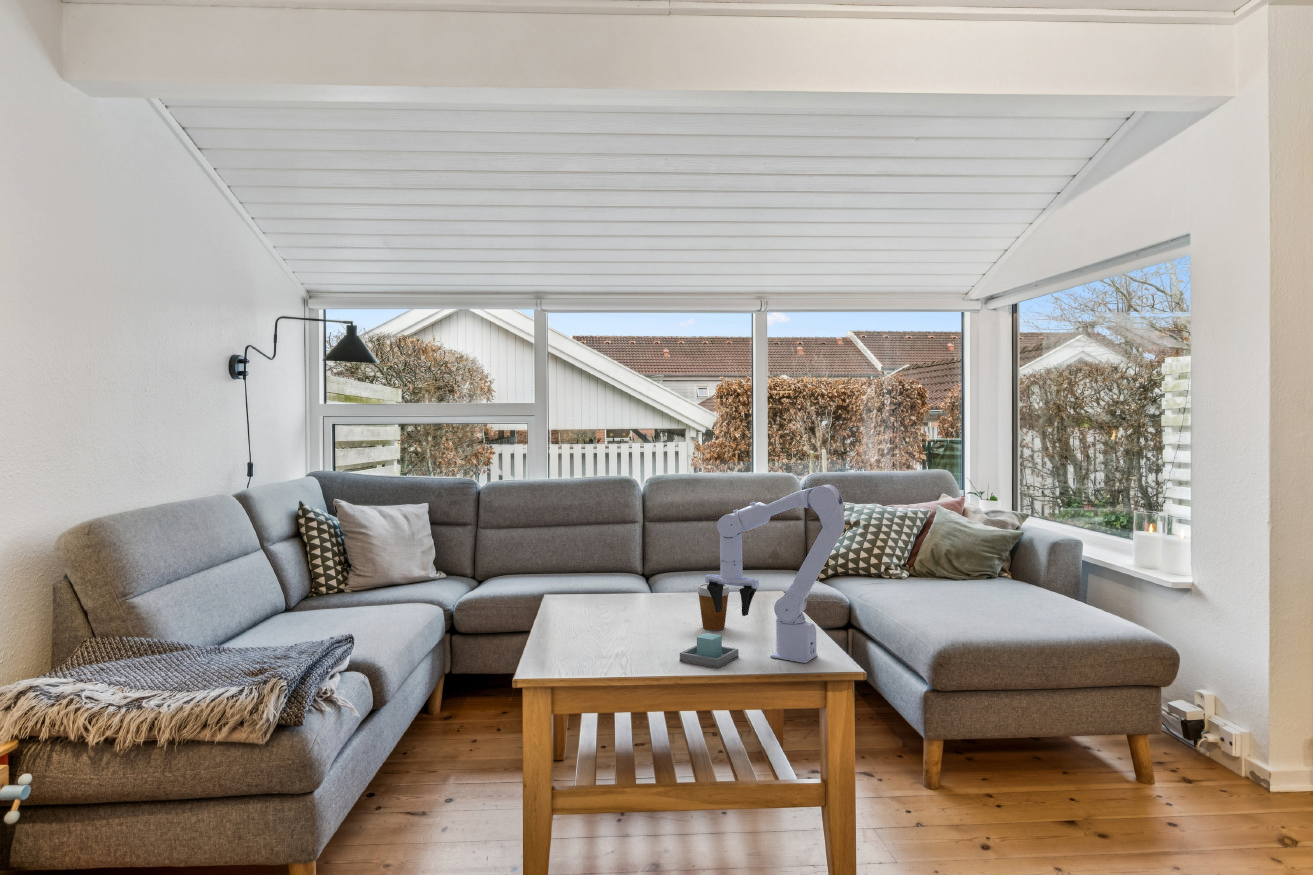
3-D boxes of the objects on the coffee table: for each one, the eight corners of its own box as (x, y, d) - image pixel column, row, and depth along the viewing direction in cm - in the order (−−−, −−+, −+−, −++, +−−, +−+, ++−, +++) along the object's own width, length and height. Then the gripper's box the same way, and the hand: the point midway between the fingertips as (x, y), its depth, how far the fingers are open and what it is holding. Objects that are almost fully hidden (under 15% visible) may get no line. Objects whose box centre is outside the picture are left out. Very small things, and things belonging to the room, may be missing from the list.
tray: (738, 657, 178) (738, 648, 178) (717, 668, 170) (717, 659, 170) (701, 650, 184) (701, 642, 184) (679, 661, 176) (679, 652, 176)
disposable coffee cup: (728, 632, 202) (728, 589, 202) (694, 631, 203) (694, 588, 204) (731, 624, 211) (731, 583, 211) (699, 622, 213) (699, 582, 213)
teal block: (721, 655, 178) (721, 635, 178) (712, 660, 174) (712, 639, 174) (706, 652, 180) (706, 632, 180) (696, 657, 176) (696, 636, 177)
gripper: (699, 560, 186) (699, 612, 186) (749, 565, 178) (750, 620, 177) (712, 556, 191) (713, 607, 191) (762, 561, 183) (762, 614, 183)
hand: (731, 613), depth 185 cm, fingers open, 7 cm apart
